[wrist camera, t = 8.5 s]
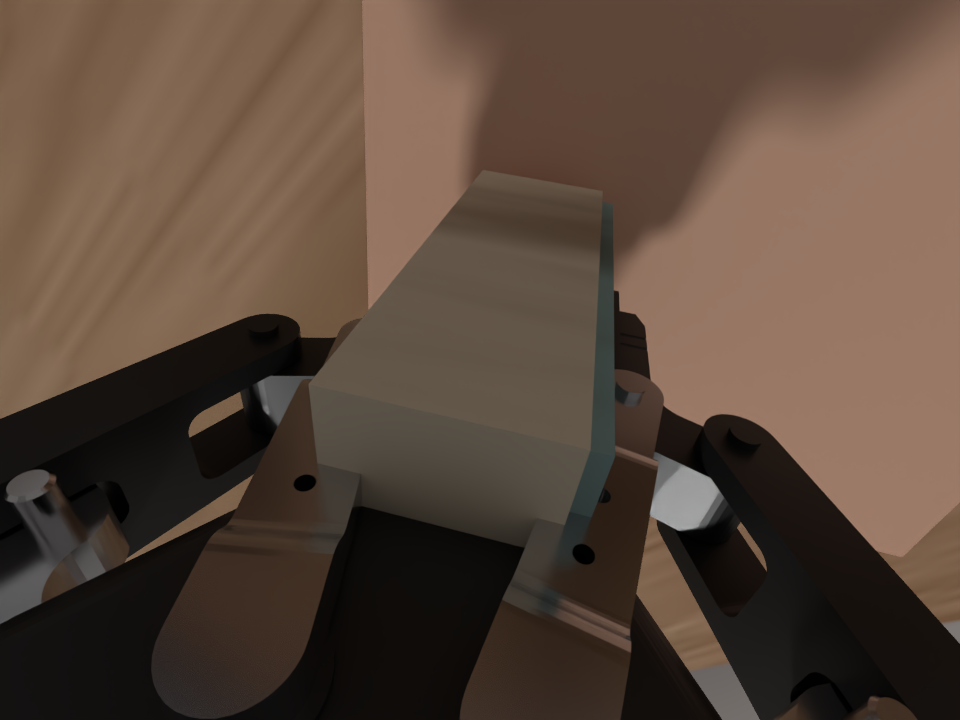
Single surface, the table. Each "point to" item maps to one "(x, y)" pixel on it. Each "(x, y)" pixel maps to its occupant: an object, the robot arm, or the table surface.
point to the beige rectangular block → (484, 367)
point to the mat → (721, 203)
